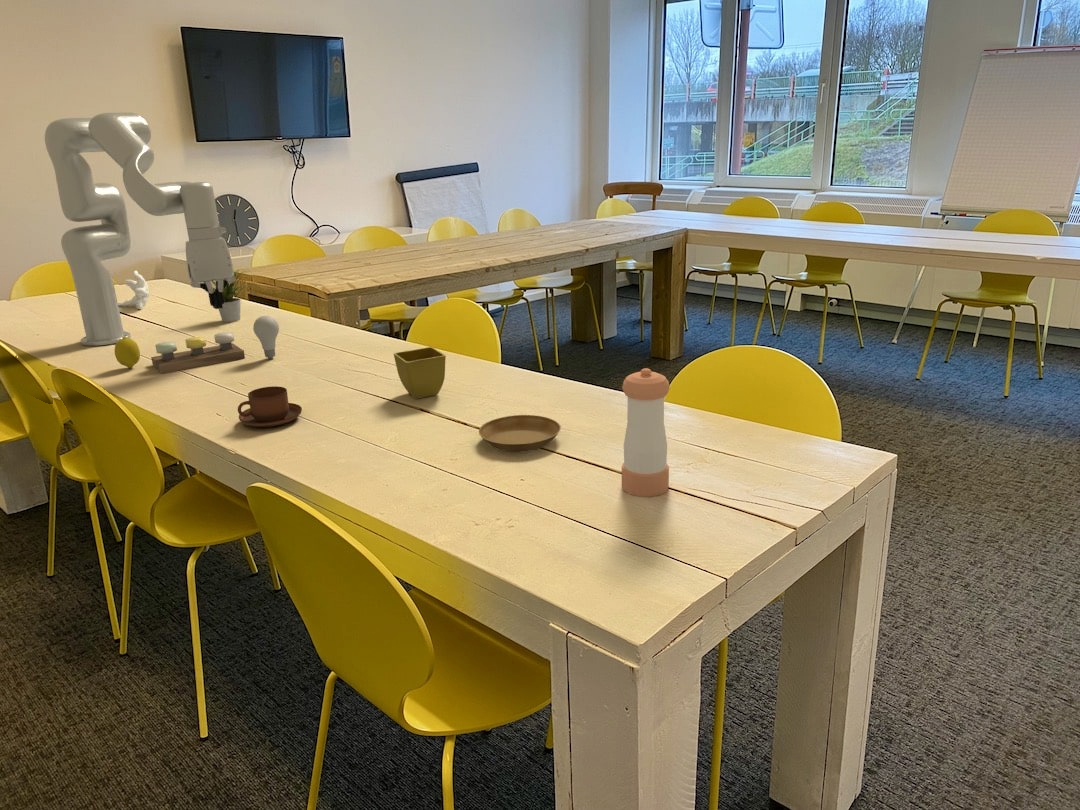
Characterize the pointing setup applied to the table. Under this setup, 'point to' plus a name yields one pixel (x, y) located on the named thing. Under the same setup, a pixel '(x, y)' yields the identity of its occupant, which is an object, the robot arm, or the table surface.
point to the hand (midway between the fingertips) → (217, 307)
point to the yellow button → (196, 345)
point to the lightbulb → (267, 334)
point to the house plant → (230, 301)
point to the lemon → (127, 352)
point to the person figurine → (137, 291)
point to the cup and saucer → (268, 408)
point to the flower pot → (421, 371)
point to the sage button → (166, 350)
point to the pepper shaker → (645, 435)
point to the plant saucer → (519, 432)
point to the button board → (197, 358)
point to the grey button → (224, 340)
